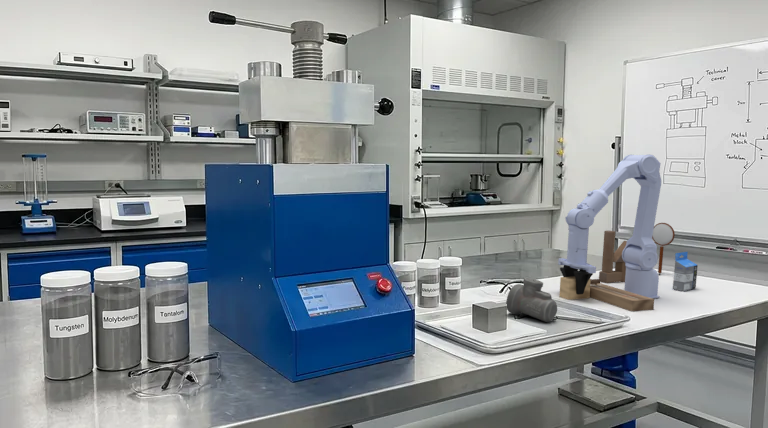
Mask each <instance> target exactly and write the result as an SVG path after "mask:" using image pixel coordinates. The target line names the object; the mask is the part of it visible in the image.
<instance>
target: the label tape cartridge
mask: <svg viewBox="0 0 768 428" xmlns="http://www.w3.org/2000/svg"><path fill="white" fill-rule="evenodd" d="M674 255H675V257H674V258H675V259H674V261H675V262H674V268H673V269H674V270H673V283H672V290H673V289H674V290H673V291H677V290H678V291H679V292H682V291H684V292H687V290H688V291H692V290H695V288H696V287H697V277H698V264H697V263H695V262H694V261H691V260H690V259H688V255H689V254H688V251H682V252H676V253H675V254H674ZM681 256H682V257H681ZM691 289H692V290H691Z"/></svg>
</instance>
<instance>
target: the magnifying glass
mask: <svg viewBox="0 0 768 428" xmlns="http://www.w3.org/2000/svg"><path fill="white" fill-rule="evenodd" d="M675 235H676V234H675V230H674V228H673V227H672V226H671V225H670V224H669V223H667V222H659V223H657V224H654V229H653V235H652V240H653V241H654V243H655V244H656V245H657V246H658V245H659V257H658V267H657V268H658V270H657V273H658V275H659V274H662V271H663V269H662V268H663V262H664V261H663V259H664V246H665V247H666V246H668V245H670V244H671V243H673V241H674V239H675Z"/></svg>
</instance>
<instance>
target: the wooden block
mask: <svg viewBox="0 0 768 428" xmlns="http://www.w3.org/2000/svg"><path fill="white" fill-rule="evenodd" d="M615 241H616V231H615V230H604V232H603V243H602V244H603V245H602V246H603V247H602V248H603V249H602V262H601V270H600V271H599V273H598V274H599V275H598V279H600V283H603V284H611V283H612V284H613V283H625V275H626V266H625V262H624V261H623V259H622V252H623V250H624V248H625V246H626V243H627V240H623V241H622V242H621V244H620V245H619V246H618V247H617V249H616V250H615ZM614 263H615V265H614Z"/></svg>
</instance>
